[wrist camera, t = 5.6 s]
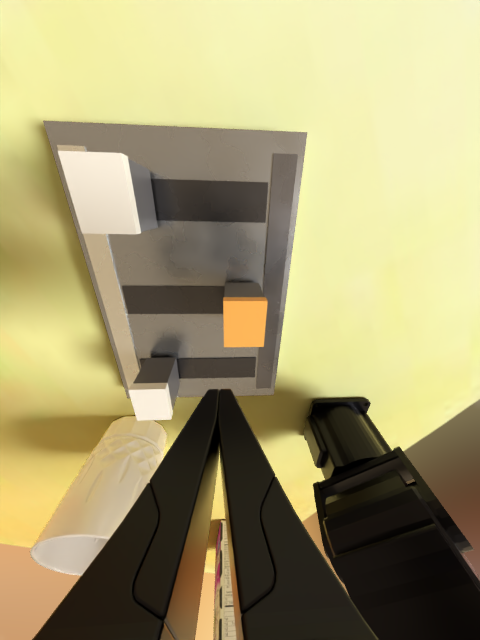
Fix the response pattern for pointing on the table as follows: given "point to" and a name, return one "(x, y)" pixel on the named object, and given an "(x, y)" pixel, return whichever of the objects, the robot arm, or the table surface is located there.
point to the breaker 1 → (109, 192)
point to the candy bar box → (223, 590)
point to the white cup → (101, 495)
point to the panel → (194, 247)
